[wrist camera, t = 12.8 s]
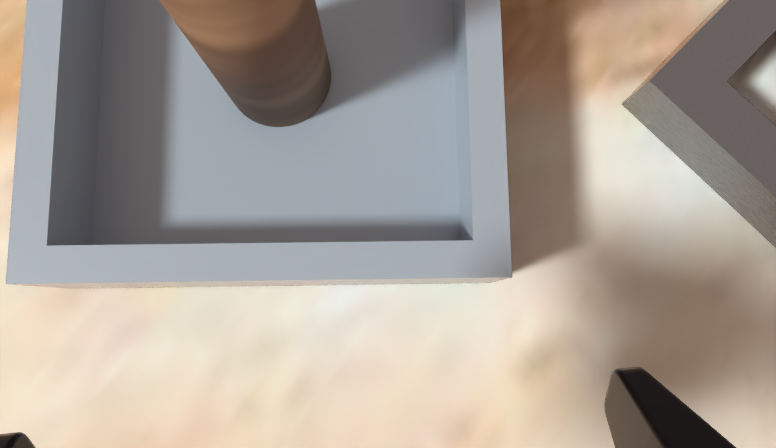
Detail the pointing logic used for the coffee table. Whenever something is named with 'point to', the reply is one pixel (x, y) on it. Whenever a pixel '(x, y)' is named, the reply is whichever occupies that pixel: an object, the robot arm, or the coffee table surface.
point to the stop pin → (260, 54)
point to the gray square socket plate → (717, 110)
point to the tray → (260, 155)
